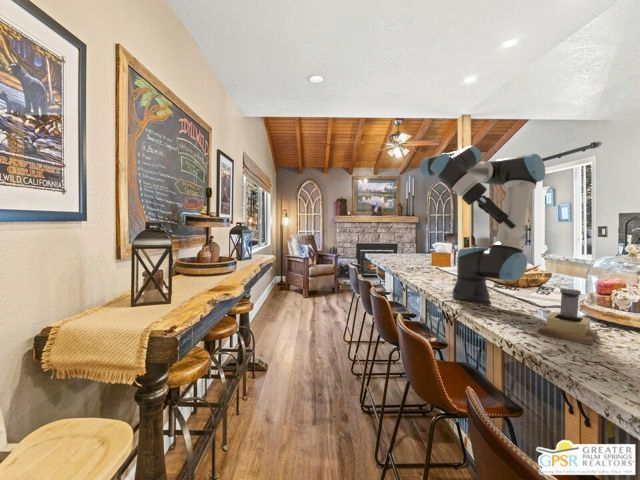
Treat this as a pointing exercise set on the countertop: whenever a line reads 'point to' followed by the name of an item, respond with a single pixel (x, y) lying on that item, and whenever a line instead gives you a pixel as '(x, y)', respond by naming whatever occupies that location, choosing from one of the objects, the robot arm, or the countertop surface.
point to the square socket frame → (568, 325)
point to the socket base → (570, 335)
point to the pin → (569, 304)
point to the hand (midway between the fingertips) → (519, 235)
